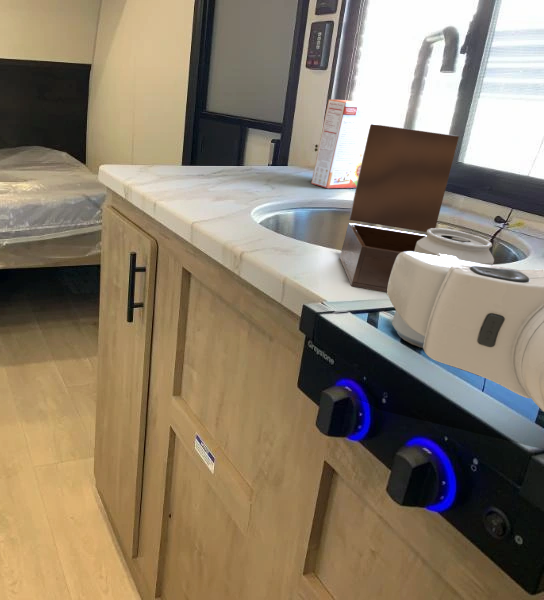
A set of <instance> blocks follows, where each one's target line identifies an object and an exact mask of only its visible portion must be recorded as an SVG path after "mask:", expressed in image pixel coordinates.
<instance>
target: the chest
mask: <svg viewBox="0 0 544 600" xmlns="http://www.w3.org/2000/svg"><path fill="white" fill-rule="evenodd" d="M425 236H427V235H426V234H421V233H414V232H410V231H409V232H408V231H401V230H396V229H390V228H384V227H377V226H371V225H365V224H359V223H352V222H348V225H347V227H346V231H345V236H344V240H343V244H342V247H341V251H340V255H339V259H340V262H341V265H342V267H343V269H344V273H345V274H346V277H347V279H348V281H349V284H350V286H351V287H353V288H361V289H366V290H372V291H376V292H377V291H378V292H383V293H387V287H388V282H389V278H390V274H391V271H392V268H393V265H394V262H395V259H396V257H397V255H398V254H399V253H401V252H404V251H413V252H414V250H415V247H416V243H417V241H419V240H420V239H422V238H424V237H425Z"/></svg>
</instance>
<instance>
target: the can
mask: <svg viewBox="0 0 544 600" xmlns="http://www.w3.org/2000/svg"><path fill="white" fill-rule="evenodd" d="M426 234H427V236H425V237H424V238H422V239H420V240H419V241H417V243H416V247H415V250H414V252H418V253H423V254H429V255H435V256H436V255H437V254H444V255H450V256H455V257H457V259H459V260H464V261H470V262H476V263H481V264H487V265H493V266H494V263H495V258H494V256H493V254H492V253H491V250H490V248H492V247H493V243H492V242H491V241H490V240H488V239H486V238H484V237H482V236H478V235H475V234H473V233H469V232H465V231H461V230H456V229H451V228H441V227H436V228H431V229H428V230H427V232H426ZM391 325H392V327H393V328H394V330H395V331H396V334H397V335H398V336H399V337H400V338H401V339H402V340H403V341H405V342H407V343H409V344H410V345H413V346H416V347H419V348H422V349H423V345H424V339H425V336H423V335H421V334H419V333H417V332H416V331H414V330H413V329H412V328H410V327H409V326H408V325H407V324H406V323H405V322H404V320H403V319H402V318H401V316H400V315H399V314H398V312H397V311H396V310H395V311H394V315H393V318H392V322H391Z"/></svg>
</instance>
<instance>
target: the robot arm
mask: <svg viewBox="0 0 544 600" xmlns="http://www.w3.org/2000/svg"><path fill="white" fill-rule="evenodd" d="M386 294H387V296H388V299H389V301H390V303H391V305H392V306H393V308H394V309H395V311H397V312H398V314H399V315H400V316H401V318H402V319H403V320H404V322H405V323H406V324H407V325H408V326H409V327H410V328H412V329H413V330H414V331H416V332H417V333H419V334H421V335H423V336H425V339H424V345H423V348H422V349H423V352H424V353H425V355H426V356H427V357H428V358H430V359H432V360H434V361H435V362H438V363H442V364H444V365H447V366H450V367H452V368H456V369H459V370H462V371H465V372H467V373H470V374H473V375H476V376H479V377H481V378H483V379H487V380H489V381H491V382H493V383H495V384H498V385H499V386H501V387H503V388H504V389H505V388H506V389H507V390H508V391H511V392H513V393H514V394H516V395H519V396H520V397H523V398H526V399H531V400H532V401H533V403H534V404H535V405H536V406H537V407H538V408H539V409H540V410H541V411H542V412H544V268H543V269H516V268H510V267H504V266H498V265H494V264H493V265H487V264H481V263H476V262H470V261H464V260H459V259H457V257H455V256H450V255H444V254H437V255H436V256H435V255H429V254H423V253H418V252H413V251H404V252H401V253H399V254H398V255H397V257H396V259H395V262H394V265H393V268H392V271H391V274H390V278H389V282H388V287H387V292H386Z"/></svg>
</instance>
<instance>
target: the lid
mask: <svg viewBox="0 0 544 600" xmlns="http://www.w3.org/2000/svg"><path fill="white" fill-rule="evenodd" d="M459 139H460V136H459V135H455V134H454V135H453V134H445V133H438V132H431V131H424V130H419V129H418V130H417V129H410V128H403V127H396V126H390V125H389V126H388V125H381V124H378V125H375V124H371V125H370V129H369V133H368V137H367V142H366V146H365V151H364V155H363V160H362V164H361V169H360V173H359V177H358V182H357V186H356V188H355V191H354V196H353V201H352V204H351V209H350V213H349V219H348V220H349V221H353V222H360V223H366V224H374V225H378V226H379V225H380V226H385V227H391V228H397V229H404V230H410V231H416V232H422V233H427V230H428V229H431V228H437V224H438V221H439V216H440V212H441V208H442V204H443V200H444V196H445V192H446V190H447V189H446V188H447V185H448V181H449V177H450V174H451V170H452V165H453V161H454V157H455V154H456V150H457V146H458V142H459Z"/></svg>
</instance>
